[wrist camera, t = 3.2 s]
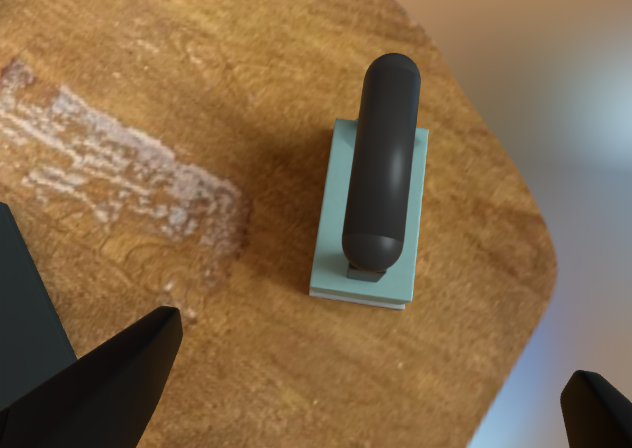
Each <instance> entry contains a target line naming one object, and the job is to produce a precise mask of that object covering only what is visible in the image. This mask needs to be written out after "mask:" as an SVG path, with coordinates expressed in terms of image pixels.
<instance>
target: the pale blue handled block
mask: <svg viewBox="0 0 632 448" xmlns="http://www.w3.org/2000/svg"><path fill="white" fill-rule="evenodd" d="M420 84H421V78H420V73H419V70H418V68H417V66H416V64H415V63H414V62H413V61H412V60H411V59H410V58H409V57H407V56H405V55H402V54H399V53H389V54H385V55H382V56H380V57H379V58H377V59H376V60H375V61H374V62H373V63H372V64H371V65H370V66H369V68H368V70H367V72H366V74H365V78H364V83H363V90H362V97H361V104H360V111H359V118H358V119H356V120H355V121H354V120H345V119H336V120H335V124H334V131H333V137H332V144H331V150H330V156H329V163H328V169H327V176H326V182H325V188H324V195H323V201H322V208H321V214H320V221H319V227H318V233H317V240H316V246H315V253H314V259H313V266H312V272H311V278H310V290H309V296H311V297H317V298H324V299H331V300H337V301H344V302H350V303H357V304H363V305H370V306H376V307H383V308H389V309H396V310H404V309H405V303H408V302H411V301H412V297H413V287H414V277H415V267H416V256H417V246H418V236H419V225H420V215H421V205H422V194H423V184H424V174H425V163H426V153H427V143H428V132H429V131H428V129H423V128H416V123H417V113H418V104H419V94H420Z"/></svg>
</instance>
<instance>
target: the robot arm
mask: <svg viewBox="0 0 632 448" xmlns="http://www.w3.org/2000/svg"><path fill="white" fill-rule="evenodd" d="M182 337H183V330H182V323H181V316H180V311H179V309H178V308H176V307H169V306H160V307H158V308H156V309H155V310H153V311H152V312H150V313H149V314H147V315H146V316H144V317H143V318H141V319H139V320H138V321H136V322H135V323H133V324H132V325H130V326H129V327H127V328H126V329H124V330H123V331H121V332H120V333H118V334H117V335H115V336H113V337H112V338H110V339H109V340H107V341H106V342H104V343H103V344H101V345H100V346H98V347H97V348H95V349H94V350H92V351H91V352H89V353H87V354H86V355H84V356H83V357H81V358H80V359H78V360H77V361H75V362H74V363H72V364H71V365H69V366H68V367H66V368H65V369H63V370H61V371H60V372H58V373H57V374H55V375H54V376H52V377H51V378H49V379H48V380H46V381H45V382H43V383H42V384H40V385H39V386H37V387H35V388H34V389H32V390H31V391H29V392H28V393H26V394H25V395H23V396H22V397H20V398H19V399H17V400H16V401H14V402H13V403H11V405H10V407H9V406H6V407H5V408H3V409H2V410H0V448H136V446H137V444H138V442H139V440H140V438H141V436H142V434H143V432H144V430H145V428H146V426H147V424H148V422H149V420H150V419H151V417H152V415H153V413H154V410H155V408H156V406H157V404H158V402H159V399H160V397H161V395H162V392H163V389H164V387H165V384H166V381H167V379H168V376H169V373H170V371H171V368H172V366H173V363H174V360H175V358H176V355H177V352H178V350H179V347H180V344H181V341H182ZM560 403H561V408H562V413H563V417H564V422H565V427H566V432H567V437H568V442H569V447H570V448H632V403H631V402H630V401H629V400H628V399H627V398H626V397H625V396H624V395H622V394H621V393H620V392H619V391H618V390H617V389H616V388H614V387H613V386H612V385H611V384H610V383H609V382H608V381H607V380H606V379H604V378H603V377H602V376H601V375H600V374H598V373H595V372H589V371H583V370H578V371H576V372H574V373H573V375H572V377H571V378H570V380H569V382H568V383H567V385H566V386H565V388H564V390H563V391H562V393H561V399H560Z"/></svg>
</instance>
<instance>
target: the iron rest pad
mask: <svg viewBox="0 0 632 448" xmlns="http://www.w3.org/2000/svg"><path fill="white" fill-rule="evenodd" d="M75 361H77V358H76V355H75V353H74V351H73V349H72V346H71V344H70V342H69V340H68V338H67V335H66V333H65V331H64V329H63V326H62V324H61V322H60V320H59V318H58V315H57V313H56V311H55V309H54V307H53V304H52V302H51V300H50V298H49V295H48V293H47V291H46V289H45V287H44V284H43V282H42V280H41V278H40V275H39V273H38V271H37V269H36V267H35V264H34V262H33V260H32V258H31V255H30V253H29V251H28V249H27V247H26V244H25V242H24V240H23V238H22V235H21V233H20V231H19V229H18V227H17V224H16V222H15V220H14V218H13V215H12V213H11V211H10V209H9V207H8V205H7V204H5V203H2V202H0V410H2V409H3V408H5V407H6V406H9V407H10V405H11V403H13V402H14V401H16V400H17V399H19V398H20V397H22V396H23V395H25V394H26V393H28V392H29V391H31V390H32V389H34V388H35V387H37V386H39V385H40V384H42V383H43V382H45V381H46V380H48V379H49V378H51V377H52V376H54V375H55V374H57V373H58V372H60V371H61V370H63V369H65V368H66V367H68V366H69V365H71V364H72V363H74V362H75Z"/></svg>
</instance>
